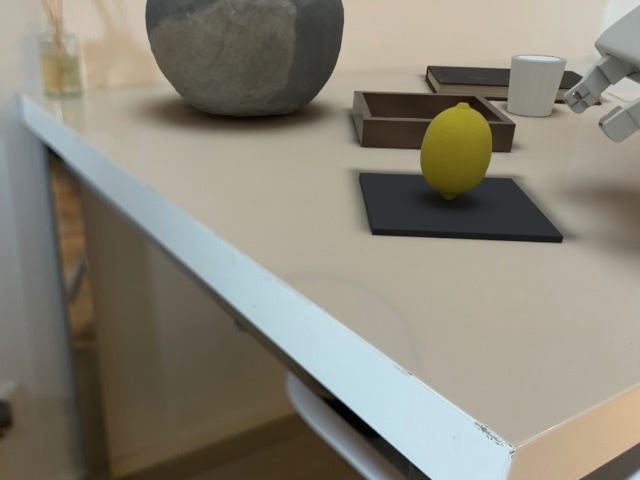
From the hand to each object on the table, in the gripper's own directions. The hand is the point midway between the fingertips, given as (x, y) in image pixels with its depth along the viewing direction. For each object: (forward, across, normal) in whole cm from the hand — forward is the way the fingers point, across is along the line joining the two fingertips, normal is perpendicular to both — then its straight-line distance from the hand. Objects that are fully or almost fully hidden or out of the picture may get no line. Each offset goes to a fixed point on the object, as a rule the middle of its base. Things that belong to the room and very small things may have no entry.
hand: (585, 119), depth 51 cm
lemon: (+12, 0, -1) cm, 12 cm away
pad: (+12, 0, -1) cm, 12 cm away
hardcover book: (+2, -55, +10) cm, 56 cm away
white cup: (+2, -40, +10) cm, 42 cm away
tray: (+12, -26, -1) cm, 29 cm away
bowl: (+28, -32, -17) cm, 46 cm away
